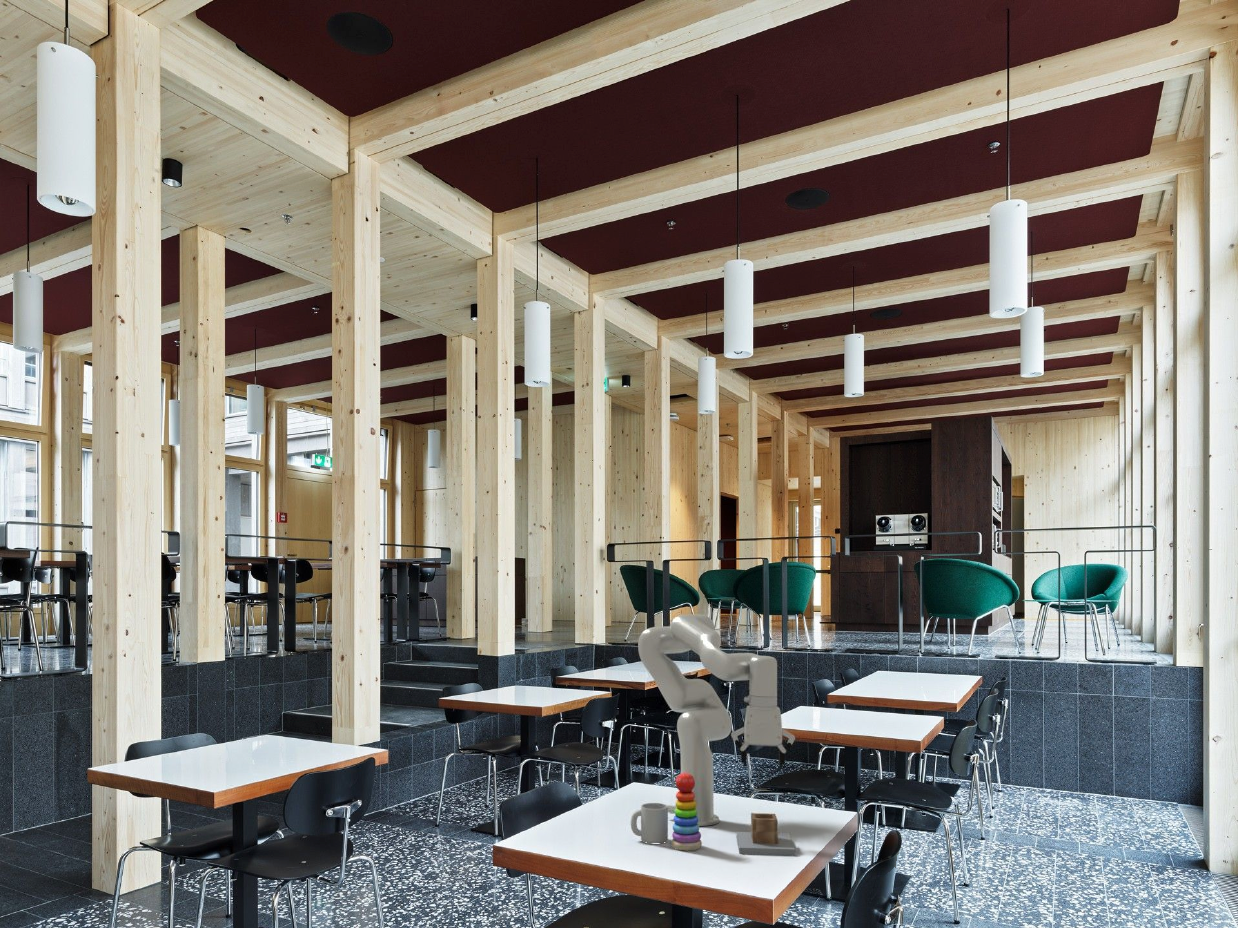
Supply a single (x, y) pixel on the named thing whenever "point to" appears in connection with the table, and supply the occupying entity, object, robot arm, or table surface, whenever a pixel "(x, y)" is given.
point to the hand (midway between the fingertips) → (762, 766)
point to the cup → (651, 823)
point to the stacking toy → (686, 816)
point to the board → (765, 845)
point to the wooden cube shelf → (764, 828)
